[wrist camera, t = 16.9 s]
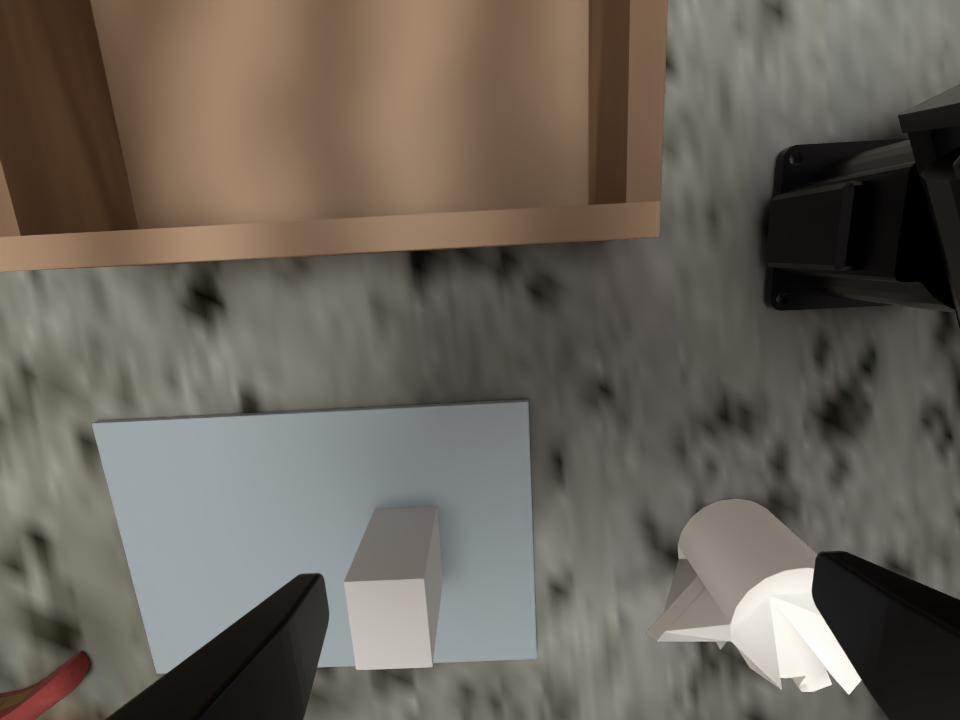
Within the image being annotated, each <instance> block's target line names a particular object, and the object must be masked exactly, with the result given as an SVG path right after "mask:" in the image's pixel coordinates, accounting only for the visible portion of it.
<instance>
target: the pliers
mask: <svg viewBox="0 0 960 720" xmlns="http://www.w3.org/2000/svg"><path fill="white" fill-rule="evenodd" d="M89 665H90V662H89V659H88V657H87V656H86V655H85V654H84V653H83V652H82V651H81V652H80V653H78V654H77V655H76V656H74V657H73V658H71V659H70V660H69V661H67V662H66V663H65V664H63V665H62V666H61V667H59V668H58V669H57V670H56V671H54V672H53V673H52V674H50V675H49V676H48V677H46V678H45V679H44V680H42V681H40V682H38V683H37V684H35V685H32V686H30V687H28V688H24V689H21V690H17V691H13V692H7V693H0V720H35V719H37V718H38V717H39V716H40V715H42V714H43V713H44V712H46V711H47V710H48V709H50V708H51V707H52V706H53V705H55V704H56V703H57V702H59V701H60V700H61V699H62V698H64V697H65V696H66V695H68V694H69V693H70V692H72V691H73V690H74V689H75V688H76V687H77V686H78V685H79V684H80V682H81V681H82V680H83V678H84V677H85V675H86V673H87V671H88V669H89Z"/></svg>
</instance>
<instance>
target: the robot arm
mask: <svg viewBox="0 0 960 720" xmlns="http://www.w3.org/2000/svg"><path fill="white" fill-rule="evenodd" d="M898 118H899V121H900V125H901V129H902V133H908V136H909V139H894V140H876V141H859V142H841V143H823V144H805V145H795V146H792V147H789V148H786V149H785V150H783V151H782V152H781V153H780V155H779V156H778V160H777V169H776V180H775V191H774V199H773V200H772V201H771V204H770V216H769V227H768V238H767V250H766V263H767V264H768V270H767V281H766V293H765V303H766V304H767V306H768V307H769V308H771V309H775V310H781V311H783V310H803V309H822V308H842V307H862V306H882V305H899V306H907V307H914V308H922V309H930V310H937V311H945V312H952V313H956V316H957V320H958V324H959V327H960V84H959V85H957V86H955V87H953V88H951V89H949V90H947V91H945V92H943V93H941V94H939V95H937V96H935V97H933V98H931V99H929V100H927V101H925V102H923V103H920V104H918V105H916V106H914V107H912V108H910V109H908V110H906V111H904V112H902V113H900V114H899V115H898ZM792 154H794V155H795V157H796V162H795V164H794V165H792V164H791V163H790V156H791V155H792ZM780 293H781V294H782V295H783V298H782V301H781V302H780V303H777V300H776V299H777V296H778V295H779V294H780ZM812 598H813V601H814V603H815V605H816V607H817V609H818V611H819V612H820V614H821V615H822V617H823V619H824V620H825V622H826V624H827V625H828V627H829V628H830V630H831V632H832V633H833V635H834V636H835V638H836V640H837V641H838V643H839V645H840V646H841V648H842V649H843V651H844V653H845V654H846V656H847V657H848V659H849V661H850V662H851V664H852V665H853V667H854V669H855V670H856V672H857V674H858V675H859V677H860V678H861V680H862V682H863V683H864V685H865V686H866V688H867V689H868V691H869V692H870V694H871V695H872V697H873V698H874V699H875V701H876V702H877V704H878V705H879V707H880V708H881V709H882V711H883V712H884V714H885V715H886V716H887V718H888V719H889V720H960V600H959V599H956V598H954V597H952V596H949V595H947V594H944V593H942V592H940V591H937V590H935V589H933V588H930V587H928V586H926V585H923V584H921V583H918V582H916V581H914V580H911V579H909V578H907V577H904V576H902V575H900V574H897V573H895V572H892V571H890V570H888V569H885V568H883V567H881V566H878V565H876V564H874V563H871V562H869V561H866V560H864V559H862V558H859V557H857V556H855V555H852V554H850V553H848V552H844V551H827V552H820V553H819V554H818V555H817V556H816V559H815V566H814V574H813V582H812ZM328 623H329V605H328V599H327V592H326V586H325V580H324V577H323V575H322V574H320V573H303V574H299V575H297V576H296V577H295V578H293V579H292V580H291V581H289V582H288V583H287V584H285V585H284V586H283V587H281V588H280V589H278V590H277V591H276V592H274V593H273V594H272V595H270V596H269V597H268V598H266V599H265V600H264V601H262V602H261V603H260V604H258V605H257V606H256V607H254V608H253V609H252V610H250V611H249V612H248V613H246V614H245V615H244V616H242V617H241V618H240V619H238V620H237V621H236V622H234V623H233V624H232V625H230V626H229V627H228V628H226V629H225V630H224V631H222V632H221V633H220V634H218V635H217V636H216V637H214V638H213V639H212V640H210V641H209V642H208V643H206V644H205V645H204V646H202V647H201V648H200V649H198V650H197V651H196V652H194V653H193V654H192V655H190V656H189V657H188V658H186V659H185V660H184V661H182V662H181V663H180V664H178V665H177V666H176V667H174V668H173V669H172V670H170V671H169V672H168V673H166V674H165V675H164V676H162V677H161V678H160V679H158V680H157V681H156V682H154V683H153V684H152V685H150V686H149V687H148V688H146V689H145V690H144V691H142V692H141V693H140V694H138V695H137V696H136V697H134V698H133V699H132V700H130V701H129V702H128V703H126V704H125V705H124V706H122V707H121V708H120V709H118V710H117V711H116V712H114V713H113V714H112V715H110V716H109V717H108V718H106V719H105V720H303V718H304V715H305V712H306V708H307V705H308V701H309V697H310V694H311V690H312V686H313V682H314V678H315V674H316V670H317V666H318V663H319V659H320V655H321V651H322V647H323V643H324V639H325V635H326V632H327V628H328Z"/></svg>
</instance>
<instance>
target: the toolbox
mask: <svg viewBox="0 0 960 720" xmlns="http://www.w3.org/2000/svg"><path fill="white" fill-rule="evenodd" d="M667 10H668V0H0V272H2V271H26V270H49V269H72V268H95V267H119V266H142V265H160V264H179V263H198V262H217V261H236V260H255V259H273V258H292V257H311V256H330V255H349V254H368V253H386V252H405V251H424V250H443V249H462V248H481V247H499V246H518V245H537V244H556V243H575V242H594V241H610V240H623V239H635V238H647V237H659V234H660V206H661V178H662V150H663V122H664V94H665V66H666V38H667Z"/></svg>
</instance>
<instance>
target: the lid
mask: <svg viewBox="0 0 960 720" xmlns="http://www.w3.org/2000/svg"><path fill="white" fill-rule="evenodd" d="M92 426H93V430H94V434H95V438H96V442H97V446H98V449H99V453H100V457H101V461H102V465H103V469H104V472H105V476H106V480H107V484H108V488H109V492H110V495H111V499H112V503H113V507H114V511H115V515H116V519H117V522H118V526H119V530H120V534H121V538H122V542H123V545H124V549H125V553H126V557H127V561H128V565H129V569H130V572H131V576H132V580H133V584H134V588H135V592H136V595H137V599H138V603H139V607H140V611H141V615H142V618H143V622H144V626H145V630H146V634H147V638H148V642H149V645H150V649H151V653H152V657H153V661H154V665H155V668H156V672H157V674H159V673H168V672H169V671H170V670H172V669H173V668H174V667H176V666H177V665H178V664H180V663H181V662H182V661H184V660H185V659H186V658H188V657H189V656H190V655H192V654H193V653H194V652H196V651H197V650H198V649H200V648H201V647H202V646H204V645H205V644H206V643H208V642H209V641H210V640H212V639H213V638H214V637H216V636H217V635H218V634H220V633H221V632H222V631H224V630H225V629H226V628H228V627H229V626H230V625H232V624H233V623H234V622H236V621H237V620H238V619H240V618H241V617H242V616H244V615H245V614H246V613H248V612H249V611H250V610H252V609H253V608H254V607H256V606H257V605H258V604H260V603H261V602H262V601H264V600H265V599H266V598H268V597H269V596H270V595H272V594H273V593H274V592H276V591H277V590H278V589H280V588H281V587H283V586H284V585H285V584H287V583H288V582H289V581H291V580H292V579H293V578H295V577H296V576H297V575H299V574H303V573H320V574H322V575H323V577H324V580H325V586H326V592H327V599H328V605H329V623H328V628H327V632H326V635H325V639H324V643H323V647H322V651H321V655H320V659H319V663H318V666H317V667H339V666H356V670H371V669H397V668H423V667H432V666H433V663H443V662H468V661H494V660H520V659H537V652H536V621H535V590H534V559H533V529H532V498H531V467H530V436H529V405H528V399H519V400H499V401H479V402H459V403H439V404H419V405H399V406H379V407H359V408H340V409H320V410H300V411H280V412H260V413H240V414H220V415H200V416H181V417H161V418H141V419H121V420H101V421H96V422H94V423H92Z"/></svg>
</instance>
